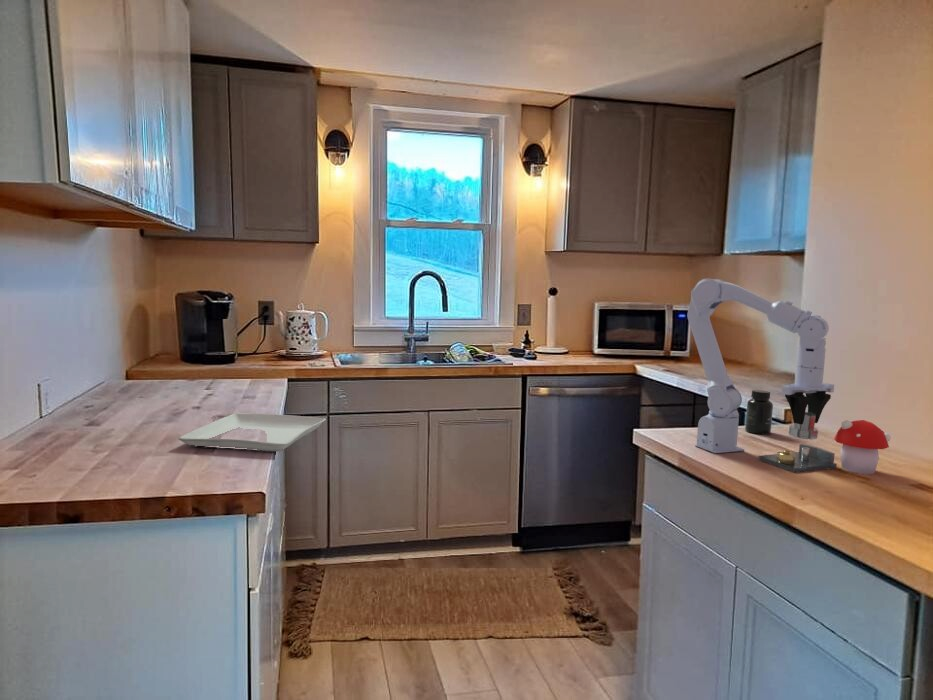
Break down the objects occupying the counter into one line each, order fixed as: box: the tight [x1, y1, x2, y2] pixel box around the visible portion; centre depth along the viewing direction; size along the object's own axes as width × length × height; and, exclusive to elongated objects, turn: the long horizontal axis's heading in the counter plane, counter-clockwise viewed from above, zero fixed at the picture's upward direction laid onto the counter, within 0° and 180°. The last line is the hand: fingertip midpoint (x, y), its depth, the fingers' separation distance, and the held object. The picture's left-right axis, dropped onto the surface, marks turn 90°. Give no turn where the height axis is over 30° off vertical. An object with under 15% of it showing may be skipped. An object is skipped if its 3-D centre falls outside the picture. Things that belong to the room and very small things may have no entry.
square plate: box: [178, 413, 326, 452], centre depth 161 cm, size 27×27×4 cm
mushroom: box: [833, 419, 892, 475], centre depth 146 cm, size 11×11×12 cm
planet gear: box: [788, 411, 819, 441], centre depth 152 cm, size 6×6×6 cm
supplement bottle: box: [744, 389, 774, 435], centre depth 182 cm, size 7×7×12 cm
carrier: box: [758, 443, 837, 473], centre depth 151 cm, size 13×10×4 cm
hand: (805, 422), depth 151 cm, fingers closed on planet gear, 4 cm apart
